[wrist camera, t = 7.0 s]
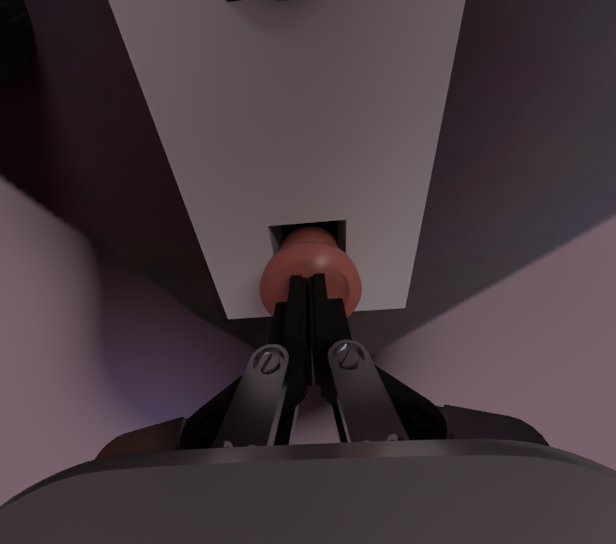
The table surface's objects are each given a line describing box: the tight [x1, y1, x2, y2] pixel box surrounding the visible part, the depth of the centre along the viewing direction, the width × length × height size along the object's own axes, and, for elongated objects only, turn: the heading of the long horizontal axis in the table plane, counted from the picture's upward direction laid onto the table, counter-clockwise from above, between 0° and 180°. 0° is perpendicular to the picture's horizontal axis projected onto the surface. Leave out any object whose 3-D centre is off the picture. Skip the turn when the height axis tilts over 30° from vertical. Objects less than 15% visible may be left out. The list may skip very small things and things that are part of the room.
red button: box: [260, 226, 362, 317], centre depth 13 cm, size 5×5×4 cm
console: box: [109, 0, 465, 319], centre depth 13 cm, size 24×14×5 cm, turn 5°
